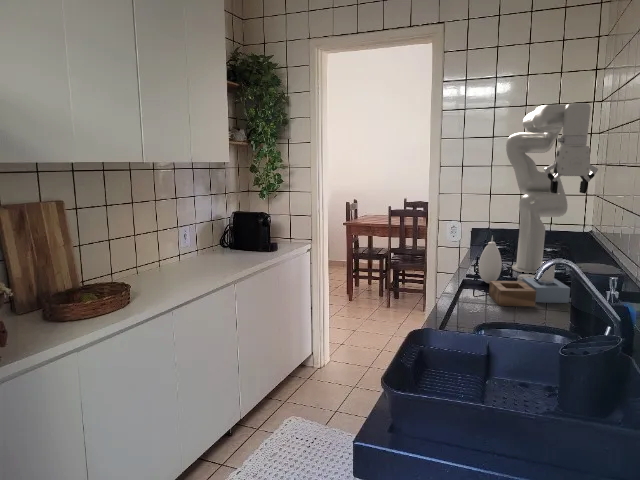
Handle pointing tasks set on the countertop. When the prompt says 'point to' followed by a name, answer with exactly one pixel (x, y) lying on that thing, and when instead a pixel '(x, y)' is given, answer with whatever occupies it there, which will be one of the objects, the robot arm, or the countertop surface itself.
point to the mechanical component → (525, 276)
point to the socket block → (549, 291)
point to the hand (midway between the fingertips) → (568, 193)
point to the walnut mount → (512, 293)
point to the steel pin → (547, 276)
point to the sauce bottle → (490, 263)
